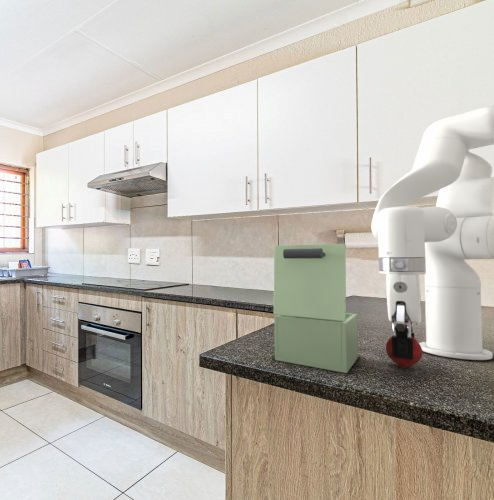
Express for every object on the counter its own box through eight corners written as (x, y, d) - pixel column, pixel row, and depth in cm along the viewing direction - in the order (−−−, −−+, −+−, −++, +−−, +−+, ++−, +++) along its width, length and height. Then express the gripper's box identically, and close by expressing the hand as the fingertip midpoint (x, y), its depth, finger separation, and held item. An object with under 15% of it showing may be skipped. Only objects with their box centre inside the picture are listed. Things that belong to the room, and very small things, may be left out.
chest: (294, 347, 88) (293, 308, 88) (358, 356, 79) (357, 313, 79) (274, 360, 77) (274, 316, 78) (346, 373, 68) (345, 323, 68)
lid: (275, 246, 79) (266, 243, 75) (345, 244, 70) (340, 241, 66) (274, 314, 78) (266, 315, 74) (346, 321, 69) (340, 322, 65)
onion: (430, 373, 68) (428, 332, 68) (396, 371, 69) (395, 331, 69) (411, 364, 73) (410, 326, 73) (380, 363, 74) (379, 325, 75)
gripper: (425, 268, 63) (427, 368, 62) (426, 265, 75) (428, 348, 75) (373, 267, 68) (376, 360, 67) (383, 265, 80) (385, 343, 80)
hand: (403, 353), depth 71 cm, fingers closed on onion, 5 cm apart
